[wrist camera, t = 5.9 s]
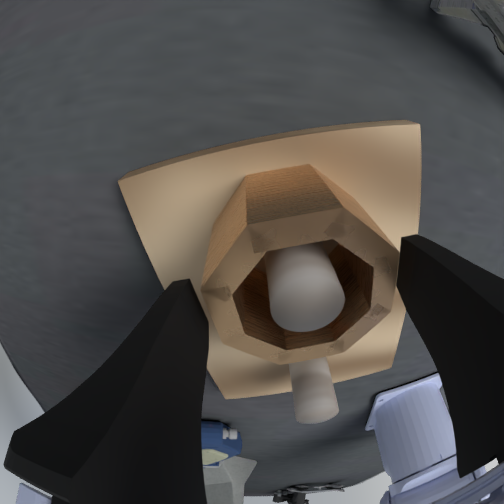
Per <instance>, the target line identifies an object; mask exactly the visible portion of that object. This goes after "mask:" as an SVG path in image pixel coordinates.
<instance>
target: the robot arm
mask: <svg viewBox="0 0 504 504" xmlns="http://www.w3.org/2000/svg"><path fill="white" fill-rule="evenodd" d="M396 287H397V289H398V291H399V294H400V296H401V299H402V301H403V303H404V306H405V308H406V310H407V312H408V314H409V316H410V318H411V319H412V321H413V323H414V325H415V327H416V328H417V330H418V332H419V334H420V336H421V338H422V339H423V341H424V343H425V345H426V347H427V349H428V351H429V353H430V355H431V357H432V359H433V361H434V363H435V365H436V368H437V370H438V373H436V374H434V375H431V376H429V377H426V378H423V379H421V380H418V381H415V382H412V383H410V384H407V385H404V386H401V387H398V388H395V389H392V390H388V391H385V392H382V393H379V394H378V395H377V396H376V398H375V401H374V404H373V407H372V410H371V413H370V416H369V419H368V421H367V424H366V427H365V429H366V430H367V431H368V430H372V429H374V431H375V435H376V439H377V442H378V446H379V450H380V455H381V459H382V463H383V467H384V470H385V471H386V473H387V474H388V475H389V476H390V477H391V479H392V483H393V484H392V485H390V486H389V491H386V492H385V494H384V496H383V497H382V499H381V501H380V504H504V279H502V278H500V277H498V276H496V275H494V274H492V273H490V272H488V271H486V270H485V269H483V268H481V267H479V266H477V265H475V264H473V263H471V262H470V261H468V260H466V259H464V258H462V257H460V256H459V255H457V254H455V253H453V252H451V251H450V250H448V249H446V248H444V247H442V246H440V245H438V244H437V243H435V242H433V241H431V240H429V239H427V238H424V237H422V236H420V235H417V234H414V235H410V236H405V237H401V245H400V256H399V265H398V274H397V282H396ZM208 352H209V321H208V319H207V317H206V315H205V313H204V310H203V308H202V306H201V303H200V301H199V299H198V297H197V294H196V292H195V290H194V287H193V285H192V282H191V280H190V278H189V279H183V280H177V281H173V282H172V283H171V284H170V285H169V286H168V287H167V288H166V290H165V291H164V292H163V293H162V294H161V296H160V297H159V298H158V299H157V301H156V302H155V303H154V305H153V306H152V307H151V308H150V310H149V311H148V312H147V313H146V315H145V316H144V317H143V319H142V320H141V321H140V322H139V324H138V325H137V326H136V327H135V328H134V330H133V331H132V332H131V333H130V334H129V336H128V337H127V338H126V339H125V340H124V341H123V343H122V344H121V345H120V346H119V347H118V349H117V350H116V351H115V352H114V353H113V354H112V355H111V356H110V357H109V358H108V359H107V360H106V362H105V363H104V364H103V365H102V366H101V367H100V368H99V369H98V370H97V371H96V372H95V373H93V374H92V375H91V376H90V377H89V378H88V379H87V380H86V381H85V382H83V383H82V384H81V385H80V386H79V387H78V388H77V389H75V390H74V391H73V392H72V393H71V394H70V395H68V396H67V397H66V398H65V399H63V400H62V401H61V402H59V403H58V404H57V405H55V406H54V407H53V408H51V409H50V410H48V411H47V412H46V413H44V414H43V415H41V416H40V417H38V418H36V419H35V420H33V421H31V422H30V423H28V424H26V425H25V426H23V427H21V428H20V429H17V430H16V431H14V433H13V435H12V438H11V441H10V444H9V448H8V451H7V454H6V458H5V461H4V467H5V469H7V470H8V471H10V472H11V473H13V474H15V475H16V476H18V477H20V478H21V479H23V480H25V481H26V482H28V483H30V484H32V485H34V486H35V487H37V488H39V489H41V490H43V491H45V492H47V493H49V494H51V495H53V496H52V497H50V496H47V495H45V494H43V493H41V492H39V491H38V490H35V489H34V488H31V487H29V486H27V485H25V484H23V483H20V485H19V490H18V495H17V500H16V504H207V498H206V492H205V483H204V473H203V461H202V442H201V413H202V401H203V393H204V385H205V377H206V369H207V361H208ZM442 385H443V388H444V391H445V395H446V399H447V402H448V406H449V410H450V414H451V418H450V415H449V413H448V410H447V408H446V405H445V403H444V400H443V398H442V396H441V393H440V391H439V389H440V387H441V386H442ZM495 458H497V460H498V463H499V465H497V466H496V467H495V468H493V469H491V470H490V471H488V472H487V473H486V470H485V467H484V465H486V464H487V463H489V462H490V461H492V460H494V459H495Z"/></svg>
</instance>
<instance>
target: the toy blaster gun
mask: <svg viewBox="0 0 504 504" xmlns="http://www.w3.org/2000/svg"><path fill="white" fill-rule="evenodd" d="M201 442H202V461H203V468H219V467H220V466H221V464H222V463H224V461H225V460H226V459H228V458H231V457H233V456H236V455H238V454H240V453H241V449H242V440H241V437H240V433H239V432H237V429H236V428H230V427H228V426H226V425H224V424H223V423H222V422H212V421H201ZM215 463H216V464H215Z"/></svg>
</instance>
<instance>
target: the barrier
mask: <svg viewBox="0 0 504 504" xmlns="http://www.w3.org/2000/svg"><path fill="white" fill-rule="evenodd" d="M215 464H216V463H215ZM256 464H257V461H255V460H250V459H246V458H241V457H237V456H233V457H231V458H228V459H226V460H225V461H224V463H222V464H221V466H220V467H219V468H203V473H204V483H205V492H206V498H207V504H243V498H244V484H245V482H246V480H247V479H248V477H249V476H250V474H251V472H252V471H253V469H254V467H255V466H256Z"/></svg>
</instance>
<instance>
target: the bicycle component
mask: <svg viewBox="0 0 504 504" xmlns="http://www.w3.org/2000/svg"><path fill="white" fill-rule="evenodd" d="M342 486H344V485H337V484H327V485H326V486H303V485H297V486H292V487H291V488H287V490H289V491H293V492H295V493H292V494H288V491H284V492H283V493H282V492H281V491H282V490H278V491H277V492H275V493H274V498H273V501H274V502H277V503H279V502H284V501H287V502H288V504H309V503H308V501H309V500H305V495H306V494H307V493H308V492H325V491H342V492H344V490H343V489H341V488H343V487H342ZM321 487H326V488H327V489H322V490H304V489H309V488H318V489H321Z"/></svg>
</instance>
